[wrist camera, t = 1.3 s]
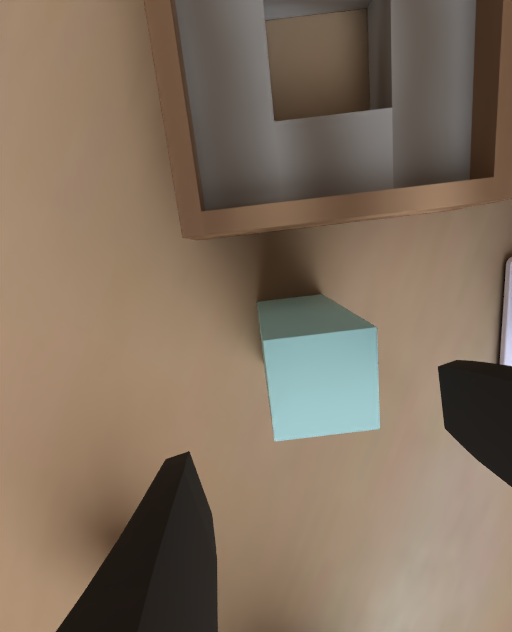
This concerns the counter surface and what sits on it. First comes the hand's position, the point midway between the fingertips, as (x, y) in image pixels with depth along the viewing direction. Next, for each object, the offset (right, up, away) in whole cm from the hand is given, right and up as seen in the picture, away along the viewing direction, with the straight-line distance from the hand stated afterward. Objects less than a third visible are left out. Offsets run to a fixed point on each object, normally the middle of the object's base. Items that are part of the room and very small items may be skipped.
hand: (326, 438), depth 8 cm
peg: (0, +2, +11) cm, 11 cm away
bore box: (+1, +16, +8) cm, 18 cm away
